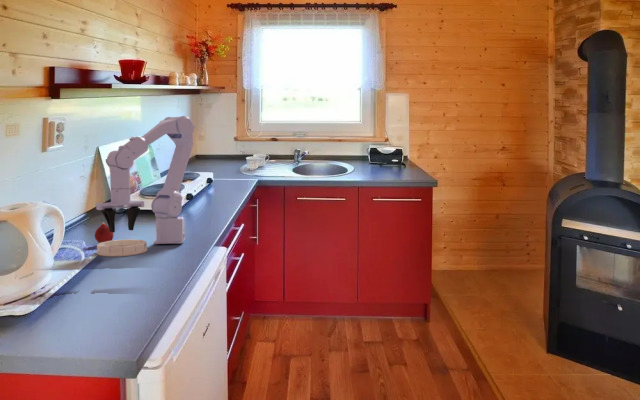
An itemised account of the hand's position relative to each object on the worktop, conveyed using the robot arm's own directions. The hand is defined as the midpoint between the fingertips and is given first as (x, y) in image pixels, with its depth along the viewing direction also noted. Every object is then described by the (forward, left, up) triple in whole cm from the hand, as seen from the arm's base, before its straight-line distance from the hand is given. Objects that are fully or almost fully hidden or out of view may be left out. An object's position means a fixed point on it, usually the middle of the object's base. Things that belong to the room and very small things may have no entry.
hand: (121, 231), depth 155 cm
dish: (0, 0, -7) cm, 7 cm away
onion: (+9, -12, -7) cm, 16 cm away
